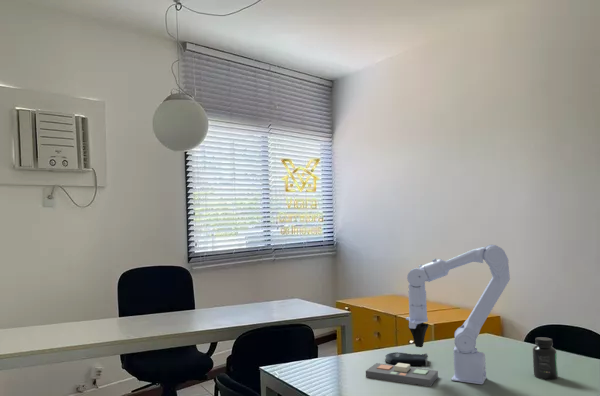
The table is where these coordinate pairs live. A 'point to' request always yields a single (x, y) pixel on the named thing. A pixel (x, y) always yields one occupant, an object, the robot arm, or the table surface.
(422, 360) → the electronic device
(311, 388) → the table surface
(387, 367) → the terracotta key
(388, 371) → the keypad
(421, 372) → the sage key
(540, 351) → the supplement bottle
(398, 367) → the sand key
